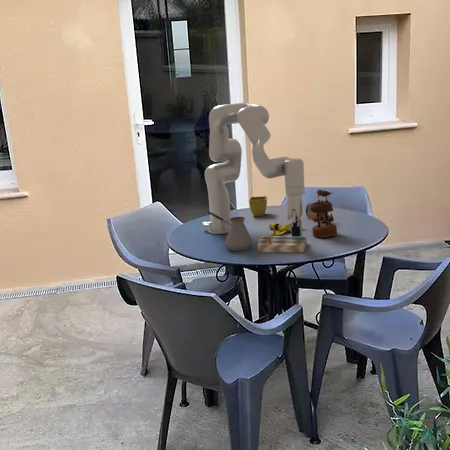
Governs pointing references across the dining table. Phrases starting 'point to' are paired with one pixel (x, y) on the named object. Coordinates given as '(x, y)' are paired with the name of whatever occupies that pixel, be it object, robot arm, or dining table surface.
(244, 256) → the dining table surface
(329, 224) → the music box
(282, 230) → the yellow action figure
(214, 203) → the robot arm
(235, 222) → the coffee pot
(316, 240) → the dining table surface
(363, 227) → the dining table surface
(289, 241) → the console
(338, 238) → the dining table surface
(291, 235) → the fader
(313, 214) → the tin
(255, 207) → the flower pot
